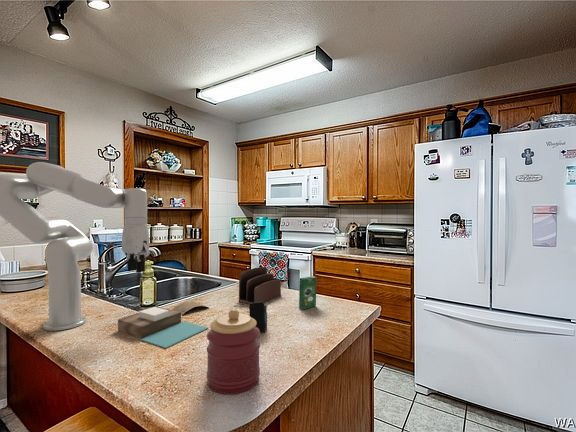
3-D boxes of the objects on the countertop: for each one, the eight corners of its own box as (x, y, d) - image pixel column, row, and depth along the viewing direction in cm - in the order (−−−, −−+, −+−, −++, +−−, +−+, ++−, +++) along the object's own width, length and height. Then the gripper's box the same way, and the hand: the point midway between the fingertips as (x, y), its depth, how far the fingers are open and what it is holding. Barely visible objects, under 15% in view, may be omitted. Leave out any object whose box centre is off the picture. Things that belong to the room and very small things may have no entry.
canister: (195, 388, 72) (195, 314, 72) (225, 362, 85) (225, 299, 84) (243, 400, 68) (244, 322, 67) (268, 371, 80) (268, 304, 80)
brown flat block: (118, 330, 106) (117, 319, 106) (157, 316, 120) (157, 306, 120) (142, 338, 100) (142, 326, 99) (181, 322, 114) (181, 312, 113)
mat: (140, 340, 98) (140, 339, 98) (184, 322, 114) (184, 321, 114) (165, 348, 93) (165, 347, 93) (208, 328, 108) (208, 327, 108)
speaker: (266, 334, 103) (265, 302, 104) (249, 334, 103) (248, 303, 104) (268, 327, 111) (267, 298, 112) (252, 328, 111) (251, 299, 112)
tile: (139, 317, 108) (139, 311, 108) (154, 312, 113) (154, 306, 113) (154, 321, 104) (154, 315, 104) (169, 316, 109) (169, 310, 109)
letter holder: (238, 301, 140) (238, 271, 140) (265, 292, 157) (265, 264, 156) (254, 305, 135) (255, 274, 134) (281, 295, 151) (281, 267, 151)
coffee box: (312, 304, 136) (312, 275, 136) (316, 306, 134) (316, 276, 134) (298, 308, 131) (298, 277, 131) (303, 310, 129) (303, 279, 129)
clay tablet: (181, 317, 121) (181, 310, 121) (168, 312, 127) (168, 305, 127) (211, 308, 132) (211, 302, 131) (198, 304, 138) (198, 298, 138)
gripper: (112, 221, 114) (112, 270, 114) (141, 223, 105) (141, 275, 106) (131, 221, 120) (131, 267, 121) (160, 222, 112) (160, 272, 112)
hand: (136, 270), depth 113 cm, fingers open, 4 cm apart
